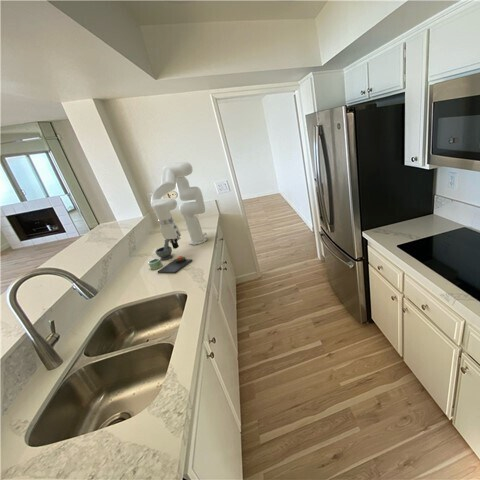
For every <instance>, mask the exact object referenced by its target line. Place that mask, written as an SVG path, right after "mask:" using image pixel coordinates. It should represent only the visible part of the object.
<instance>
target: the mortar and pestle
mask: <svg viewBox="0 0 480 480" xmlns="http://www.w3.org/2000/svg"><path fill="white" fill-rule="evenodd" d="M169 244H170V241H168V240H165V239H164V245H163V246H162V247H159V248H157V249H155V254H156V256H157V257H158V258H160V260H161V261H167V260H170V259H171V258H172V253H173V249H172V248H173V247H172V246H170V245H169Z"/></svg>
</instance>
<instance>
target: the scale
mask: <svg viewBox="0 0 480 480" xmlns="http://www.w3.org/2000/svg"><path fill="white" fill-rule="evenodd" d="M182 258H183V259H181V260H178V259H177V258H175V259H174V260H172V261H170V262H169V263H167V264H166V265H165V266H162V267H161V268H159V269H158V271H157V274H177V273H179V272H180V271H182V269H184V268H185V267H186V266H188V265H189V264H191V263H192V262H193V259H192V258H191V259H189V258H186V257H185V256H182Z"/></svg>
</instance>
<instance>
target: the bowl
mask: <svg viewBox="0 0 480 480" xmlns="http://www.w3.org/2000/svg"><path fill="white" fill-rule="evenodd" d="M147 264H148V266H149V268H150V270H160V269H162V268H163V262H162V259H161V258H160V257H157V258H153V259H150V260H149V261H148V262H147Z"/></svg>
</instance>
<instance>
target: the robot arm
mask: <svg viewBox="0 0 480 480" xmlns="http://www.w3.org/2000/svg"><path fill="white" fill-rule="evenodd" d="M192 173H193V166H192V164H191V163H190V162H188V161H183V162H175V163H169V164H167V165H165V166H163V168H162V171H161V180H160V184H159V186H157V187H156V188H155V190H154V191H153V192H152V193H151V198H150V206H151V209H152V210H153V211H154V213H155V215H156V217H157V220H158V223H159V228H160V232H161V235H162V237H163V239H164V241H165V240H168V241H169V244H171V247H172V248H173V249H172V250H176V249H178V248H179V247H180V245H179V242H178V241H180V240H181V236H182V234H181V231H180V229H179V226H178V225H177V223H176V222H175V220H174V218H173V216H172V214H171V211H173V210H175V209H176V208H177V207H178V201H177V200H176V199H175V198H173V197H167V198H163V197H164V196H166V195H168V194H170V193H171V192H172V191H174V190H175V189H176V190H177V195H178V199H179V200H180V201H182V202H183V203H181V204H180V205H179V207H178V208H179V209H178V210H179V212H180V215H181V216H182V218H183V221H184V223H185V226H186V229H187V233H188V235H189V238H190V241H189V245H191V246H195V245H200V244H203V243H205V242H206V241H207V239H208V238H207V237H206V236H207V234H208V233H207V232H204V233H203V230H202V225H201V224H200V219H199V218H198V217H197V216H196V215H201V214H204V213H205V211H206V206H205V202H204V196H203V191H202V190H201V188H200V187H199V186H190V182H189V179H188V178H187V176H189V175H191V174H192ZM188 201H189V202H188Z"/></svg>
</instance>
